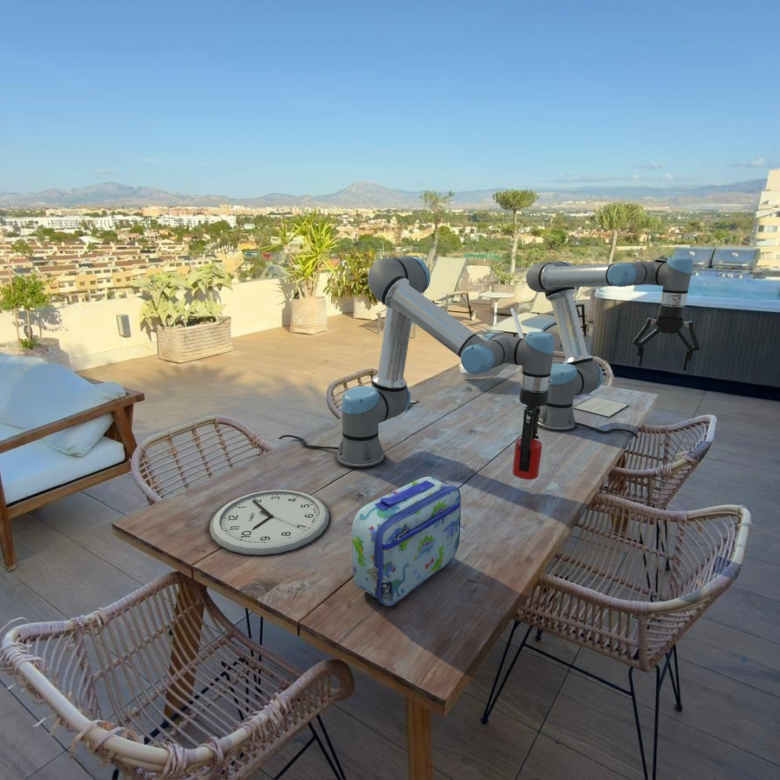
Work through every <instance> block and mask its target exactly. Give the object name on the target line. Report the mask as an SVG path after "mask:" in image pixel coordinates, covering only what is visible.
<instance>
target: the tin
mask: <svg viewBox="0 0 780 780" xmlns="http://www.w3.org/2000/svg"><path fill="white" fill-rule="evenodd" d="M520 445H521V437H520V438H517V439H516V440H515V445H514V446H515V447H514V454H513V455H514V456H513V464H512V475H514V476H515V477H516V478H518V479H522V480H527V481H528V480H529V481H531V480H536V479H538V477H539V474H540V466H541V465H540V464H541V457H542V449H543V443H542V442H541V441H540V440H539V439H532V443H531V457H530V466H529V472H525V471H519V463H520V453H521V450H519V449H518V447H520Z"/></svg>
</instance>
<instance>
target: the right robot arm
mask: <svg viewBox="0 0 780 780" xmlns="http://www.w3.org/2000/svg"><path fill="white" fill-rule="evenodd" d="M693 265H694V260H693V259H692V258H691V257H683V256H682V257H680V256H674V257H673V256H671V257H669V258H667V260H666V262H658V261H657V262H656V261H647V260H640V261H638V260H637V261H634V262H617V263H596V264H579V265H574V264H571V263H570V262H567V261H562V260H559V261H544V262H543V261H542V262H541V261H539V262H537V263H534V264H532V265H531V266H530V267H529V268H528V270H527V272H526V275H525V281H526V284H527V286H528V288H529V289H530V290H531V291H533V292H536V293H544V296H545V300H547V301H549V302H550V303H551V308H552V312H553V315H554V319H555V323H556V327H557V331H558V336H559V339H560V344H561V348H562V352H563V356H564V360H563V362H562V363H554V364H553V363H552V368H551V375H550V378H549V379H552V383H549V389H548V390H547V391H548V392H549V394H548V402H547V404H546V405H544V406H540V414H539V420H538V428H542V429H544V430H549V431H556V432H567V431H572V430H574V429H575V428H576V425H577V426H580V427H583V428H586V429H590V430H593V431H596V432H598V433H601V434H610V433H611V432H625V433H629V434H631V435H633V436H634V437H635V438H636V439H639V438H640V437H639V436H638V434H637V433H635V432H634V431H632V430H630V429H627V428H610V429H609V430H602V429H599V428H597V427H594V426H590V425H588V424H584V423H581V422H577V421H576V418H575V417H576V416H575V413H574V407H573V405H574V398H575V397H578V396H581V395H585V394H586V395H587V394H591V393H592V392H595V391H597V390H598V389H599V388H600V387H601V386H602V383H603V381H604V373H603V369H602V367H601V366H600V365H598V364H597V363H596V362H595V360H594V357H593V356H592V355H591V354H588V351H587V347H586V343H585V339H584V335H583V331H582V327H581V323H580V319H579V315H578V311H577V307H576V303H575V298H574V295H575V293H576V288H590V287H591V288H593V287H595V288H597V287H618V288H624V287H631V286H646V285H648V286H649V285H650V286H660V287H662V292H661V296H660V304H661V305H659V309H658V314H657V318H656V319H653V318H651V317H647V319H646V322H645V324H644V326H643V327H642V328H641V330H640V331H639V332H638V334H637V335H636V336H635V338H634V339H633V341H632V344H633V345H634V346H637V350H636V356H637V357H639V360H638V366H639V367H642V364H643V358H644V352H645V346H644V345H645V344H647V343H648V342H650V340H652V339H653V338H654V337H655V336H657V335H658V334H659V333H662V334H670V335H673V334H677V336H678V337H679V338H680V340H681V341H682V343H683V345H684V346H685V347H686V348H687V349H685V352H684V358H683V363H682V371H683V372H686V371H687V366H688V362H691V361H692V360H693V353H694V352H695V351H700V350H701V347H700V344H699V341H698V339H697V336H696V333H695V330H694V322H693V321H692V320H689V321H684V318H685V317H684V316H685V310H686V308H685V306H686V305H687V299H688V294H689V288H690V282H691V278H692V274H693ZM654 324H655V325H656V326H657V327H656V328H654V329H653V331H651V332H650V333H648V335H646V336H645V337H644V338H643V336H644V335H645V333H646V332H647V331H648V329H649V328H650V327H651V326H653V325H654ZM684 326H685V328H686V329H688V333H689V335H690V337H691V341H692V344H693V346H692V345H691V343H690V342H689V341H688V339H687V338H686V337H685V335H684V334H683V332H682V331H681V328H683V327H684ZM642 338H643V339H642ZM641 339H642V340H641Z"/></svg>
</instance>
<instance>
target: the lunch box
mask: <svg viewBox="0 0 780 780" xmlns="http://www.w3.org/2000/svg"><path fill="white" fill-rule="evenodd" d="M461 499H462V497H461V491H460V489H459V488H458V487H457V486H455V485H450V486H449V485H447V484H445V483H444V482H442V481H440V480H438V479H436V478H434V477H432V476H424V477H421V478H419V479H416V480H414V481H412V482H410V483H407V484H405V485H404V486H401V487H399V488H397V489H395V490H392V491H391V492H390V493H386V494H385V495H383V496H381V497H379V498H377V499H376V500H373V501H371V502H369V503H367V504H365V505H364V506H362V507H361V508H360V509H359V510H358V512H357V513H356V514H355V517H354V518H353V521H352V527H351V550H352V576H353V581H354V584H355V587H356V588H358V589H360V590H362V591H364V592H366V593H368V594H370V596H372V597H374V598H375V599H377V601H378V603H379V604H382V605H383V606H385V607H393V606H394V605H396V604H397V603H399V602H400V601H402V599H404V598H405V597H406V596H407V595H409V594H410V593H411V592H413V591H414V590H415V589H416V588H418V587H419V586H420V585H422V584H423V583H424V582H425V581H427V580H428V579H429V578H430V577H432V575H434V574H435V573H437V572H439V571H441V570H442V569H443V568H445V567H446V566H448V565H449V564H450V562H452V560H453V559H454V557H455V555H456V553H457V551H458V549H459V544H460V537H461V519H462V515H461V513H462V512H461V510H462V507H461V505H462V504H461V503H462V502H461Z"/></svg>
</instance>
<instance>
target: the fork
mask: <svg viewBox="0 0 780 780" xmlns="http://www.w3.org/2000/svg"><path fill="white" fill-rule="evenodd" d="M418 398H419V396H415V395H413V396H412V397H411V400H410V404H409V406H408V408H409V407H411V405H412V404H415V403H417V401H418Z"/></svg>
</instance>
